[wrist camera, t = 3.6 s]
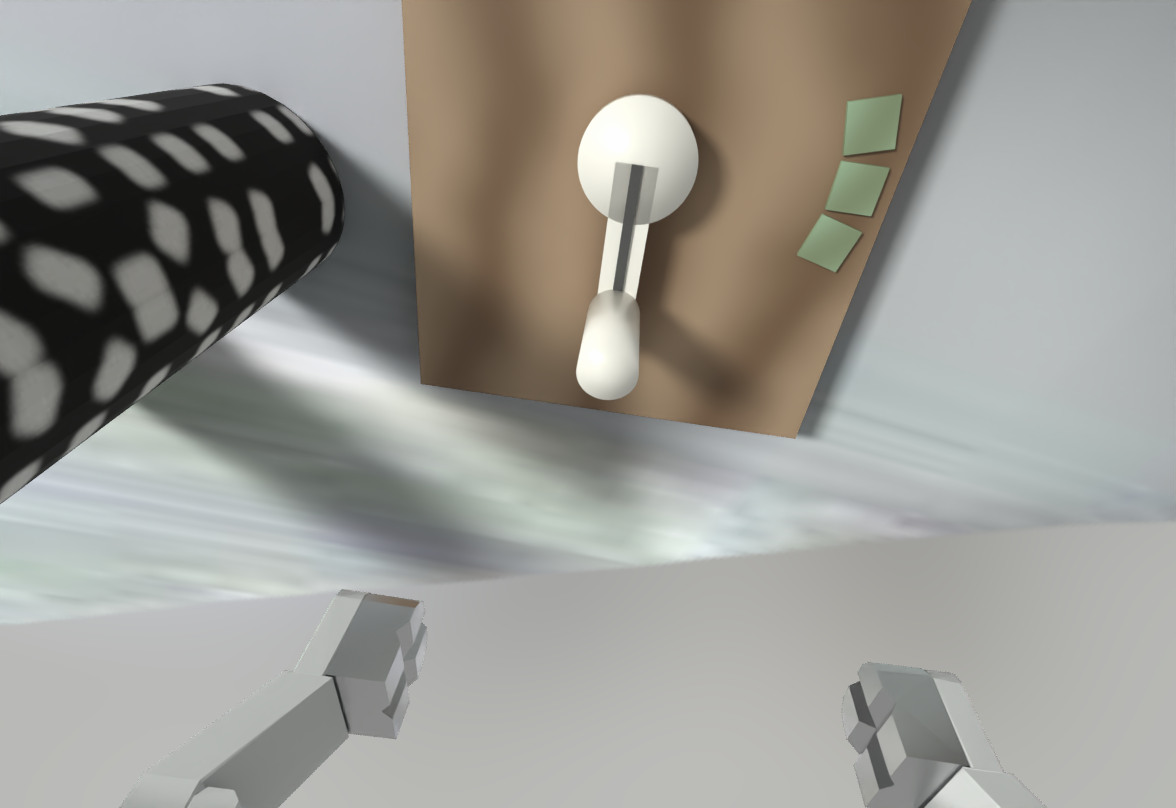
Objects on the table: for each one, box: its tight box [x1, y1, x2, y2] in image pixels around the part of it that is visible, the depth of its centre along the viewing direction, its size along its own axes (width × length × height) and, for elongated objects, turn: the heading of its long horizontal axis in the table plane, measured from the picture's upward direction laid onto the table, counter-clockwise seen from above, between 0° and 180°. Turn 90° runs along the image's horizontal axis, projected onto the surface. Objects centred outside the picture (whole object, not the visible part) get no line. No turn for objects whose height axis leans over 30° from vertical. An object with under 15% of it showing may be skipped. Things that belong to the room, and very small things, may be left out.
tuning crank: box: [576, 93, 698, 400], centre depth 21 cm, size 10×4×6 cm, turn 173°
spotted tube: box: [0, 84, 345, 504], centre depth 18 cm, size 8×8×20 cm
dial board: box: [402, 0, 972, 439], centre depth 24 cm, size 19×20×2 cm
